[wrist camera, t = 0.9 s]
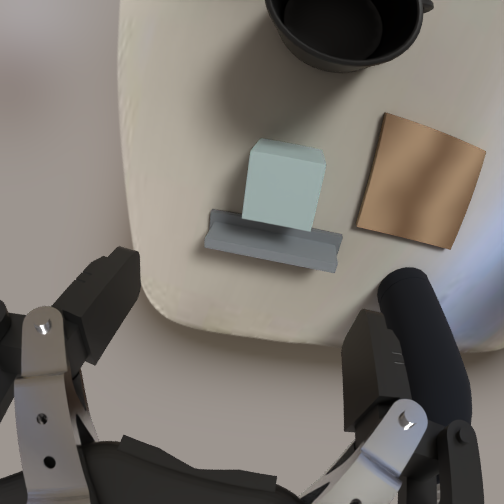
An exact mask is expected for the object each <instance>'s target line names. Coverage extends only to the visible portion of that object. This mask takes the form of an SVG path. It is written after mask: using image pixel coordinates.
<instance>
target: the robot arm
mask: <svg viewBox="0 0 504 504" xmlns="http://www.w3.org/2000/svg"><path fill="white" fill-rule="evenodd" d="M140 287H141V281H140V255H139V252H138V251H134V250H131V249H127V248H124V247H120V246H119V247H117V248H116V249H115V250H114V251H113V252H112V253H111V254H110V255H109V256H108V257H105V256H102V257H101V258H99V259H97V260H95V261H93V262H91V263H90V264H89V265H88V266H87V267H86V268H85V270H84V271H83V273H81V274H80V275H79V276H78V277H77V278H76V280H74V281H73V282H72V284H71V285H70V286H69V287H68V288H67V289H66V290H65V291H64V292H63V294H62V295H61V296H60V297H59V298H58V299H57V300H56V302H55V303H54V304H53V305H52V306H51V307H50V306H42V307H38V308H35V309H33V310H32V311H30V312H29V313H28V314H27V315H20V314H13V313H8V311H7V308H6V306H5V304H4V302H2V301H1V300H0V422H1V420H2V419H3V417H4V415H5V413H6V411H7V409H8V407H9V405H10V403H11V402H12V400H13V398H14V400H15V401H14V402H15V416H16V427H17V435H18V444H19V451H20V457H21V463H22V468H23V471H21V472H18V473H15V474H13V475H10V476H7V477H5V478H1V479H0V504H390V502H391V501H392V500H393V498H394V496H395V495H396V494H397V492H398V504H437V481H436V475H438V474H439V479H440V501H439V503H438V504H484V493H483V481H482V472H481V464H480V456H479V450H478V443H477V438H476V434H475V431H474V429H473V428H472V426H471V425H470V424H469V423H467V422H466V421H464V420H455V421H453V422H452V423H450V424H449V425H448V426H447V427H446V426H443V425H440V424H437V423H435V422H432V421H430V420H427V416H426V413H425V411H424V410H423V408H422V407H421V406H420V405H419V404H418V403H416V402H415V401H413V400H412V397H411V391H410V386H409V381H408V377H407V372H406V367H405V365H404V358H403V355H402V350H401V346H400V342H399V340H398V338H397V337H396V335H395V334H394V332H393V331H392V330H391V329H387V326H386V322H385V318H384V315H383V314H382V313H379V312H375V311H370V310H365V309H362V310H361V311H360V313H359V314H358V316H357V318H356V320H355V322H354V323H353V325H352V327H351V329H350V330H349V332H348V334H347V336H346V337H345V340H344V342H343V346H342V352H341V356H342V374H343V399H344V431H345V432H355V440H354V441H353V442H352V443H351V444H350V445H349V446H348V447H347V449H346V450H345V451H344V452H343V453H342V454H341V455H340V457H339V458H338V459H337V460H336V461H335V462H334V463H333V464H332V465H331V467H330V468H329V469H328V470H327V471H326V472H325V473H324V474H323V475H322V476H321V477H320V478H319V479H318V480H317V481H316V482H314V483H313V484H312V485H311V486H310V487H308V488H307V489H306V490H305V491H304V492H303V493H302V494H301V495H299V496H298V497H297V496H296V495H295V494H294V493H292V492H290V491H289V490H287V489H286V488H284V487H282V486H280V485H277V484H276V480H277V476H272V475H266V474H259V473H254V472H248V471H243V470H204V469H195V468H193V467H191V466H189V465H187V464H186V463H184V462H182V461H180V460H178V459H176V458H175V457H173V456H172V455H170V454H168V453H166V452H165V451H163V450H161V449H160V448H158V447H155V446H152V445H149V444H146V443H144V442H141V441H138V440H136V439H133V438H131V437H128V436H126V435H123V437H122V439H121V442H117V441H115V442H114V441H100V442H99V439H98V436H97V433H96V430H95V427H94V425H93V422H92V419H91V416H90V412H89V408H88V403H87V398H86V393H85V388H84V383H83V377H82V371H81V366H82V365H83V363H84V362H85V361H86V362H88V363H91V364H93V365H96V364H97V362H98V360H99V359H100V357H101V356H102V354H103V352H104V351H105V349H106V347H107V346H108V344H109V343H110V341H111V339H112V338H113V336H114V335H115V333H116V331H117V330H118V328H119V327H120V325H121V323H122V322H123V320H124V319H125V317H126V316H127V314H128V313H129V311H130V310H131V308H132V307H133V305H134V303H135V302H136V301H137V298H138V296H139V292H140Z"/></svg>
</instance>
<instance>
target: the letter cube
mask: <svg viewBox="0 0 504 504" xmlns="http://www.w3.org/2000/svg"><path fill="white" fill-rule="evenodd" d="M325 169H326V162H325V158H324V155H323V151H322V150H321V149H317V148H312V147H307V146H302V145H297V144H292V143H286V142H281V141H275V140H270V139H264V138H260V140H259V141H258V142H257V143H256V144H255V146H254V147H253V148H252V150H251V151H250V159H249V166H248V174H247V181H246V189H245V196H244V204H243V212H242V218H243V219H248V220H253V221H259V222H264V223H269V224H274V225H279V226H284V227H290V228H295V229H300V230H304V231H309V232H311V228H312V224H313V220H314V216H315V212H316V208H317V203H318V199H319V195H320V191H321V186H322V182H323V178H324V173H325Z"/></svg>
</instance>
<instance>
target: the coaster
mask: <svg viewBox="0 0 504 504" xmlns="http://www.w3.org/2000/svg"><path fill="white" fill-rule="evenodd" d="M485 154H486V151H484V150H482V149H480V148H478V147H476V146H473V145H471V144H469V143H467V142H464V141H462V140H460V139H457V138H455V137H453V136H450V135H448V134H445V133H443V132H440V131H438V130H435V129H432V128H430V127H427V126H424V125H421V124H419V123H416V122H413V121H410V120H407V119H404V118H401V117H398V116H395V115H392V114H388V113H384V118H383V123H382V127H381V131H380V136H379V140H378V144H377V148H376V152H375V156H374V160H373V164H372V168H371V172H370V175H369V179H368V183H367V186H366V190H365V194H364V197H363V201H362V204H361V207H360V211H359V214H358V217H357V221H356V225H357V227H360V228H365V229H369V230H373V231H378V232H382V233H386V234H390V235H395V236H399V237H403V238H407V239H411V240H415V241H419V242H423V243H427V244H431V245H434V246H438V247H442V248H446V249H450V250H451V247H452V245H453V243H454V241H455V238H456V236H457V234H458V231H459V229H460V226H461V224H462V221H463V219H464V216H465V214H466V211H467V209H468V206H469V203H470V201H471V198H472V195H473V192H474V189H475V186H476V183H477V180H478V177H479V174H480V171H481V168H482V164H483V161H484V158H485Z"/></svg>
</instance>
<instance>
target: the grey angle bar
mask: <svg viewBox="0 0 504 504" xmlns="http://www.w3.org/2000/svg"><path fill="white" fill-rule="evenodd" d="M342 238H343V236H342V234H338V233H333V232H328V231H324V230H319V229H314V228H311V232H309V231H304V230H300V229H295V228H290V227H284V226H279V225H274V224H269V223H264V222H259V221H253V220H248V219H243V218H242V214H237V213H232V212H226V211H221V210H215V209H212V210H211V215H210V229H209V232H208V234H207V235H206V237H205V245H204V247H205V248H210V249H215V250H220V251H225V252H230V253H235V254H240V255H245V256H250V257H255V258H260V259H265V260H270V261H275V262H280V263H285V264H290V265H296V266H301V267H306V268H311V269H316V270H321V271H326V272H331V273H335V271H336V268H337V265H338V263H337V254H338V251H339V247H340V244H341V241H342Z"/></svg>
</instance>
